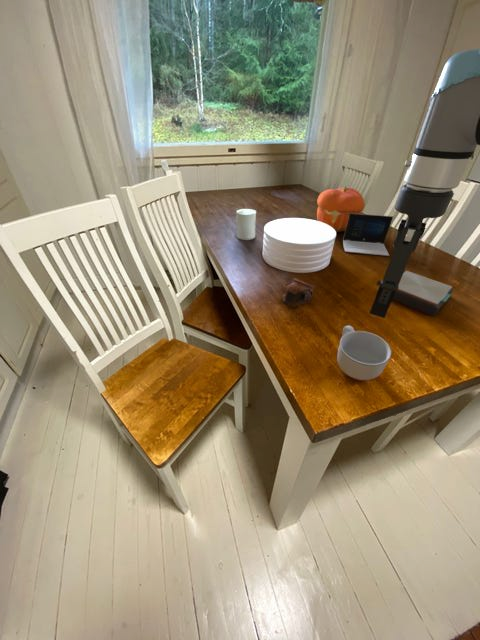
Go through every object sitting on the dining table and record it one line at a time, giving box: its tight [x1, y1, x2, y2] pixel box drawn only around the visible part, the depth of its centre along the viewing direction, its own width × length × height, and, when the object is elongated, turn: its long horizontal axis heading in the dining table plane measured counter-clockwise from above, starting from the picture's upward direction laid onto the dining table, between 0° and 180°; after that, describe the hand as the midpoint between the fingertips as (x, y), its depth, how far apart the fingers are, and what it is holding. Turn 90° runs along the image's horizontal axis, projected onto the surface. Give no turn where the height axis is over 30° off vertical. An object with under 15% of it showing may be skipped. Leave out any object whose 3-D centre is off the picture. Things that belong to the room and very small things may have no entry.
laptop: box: [342, 213, 394, 257], centre depth 117 cm, size 18×12×13 cm
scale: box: [392, 270, 455, 317], centre depth 90 cm, size 16×16×4 cm
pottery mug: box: [282, 277, 315, 308], centre depth 87 cm, size 12×10×8 cm
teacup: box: [336, 325, 392, 381], centre depth 65 cm, size 14×11×8 cm
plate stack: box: [262, 217, 337, 274], centre depth 111 cm, size 28×28×12 cm
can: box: [235, 208, 257, 241], centre depth 127 cm, size 9×9×12 cm
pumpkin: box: [316, 186, 366, 233], centre depth 134 cm, size 23×23×20 cm
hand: (383, 298), depth 56 cm, fingers open, 13 cm apart
